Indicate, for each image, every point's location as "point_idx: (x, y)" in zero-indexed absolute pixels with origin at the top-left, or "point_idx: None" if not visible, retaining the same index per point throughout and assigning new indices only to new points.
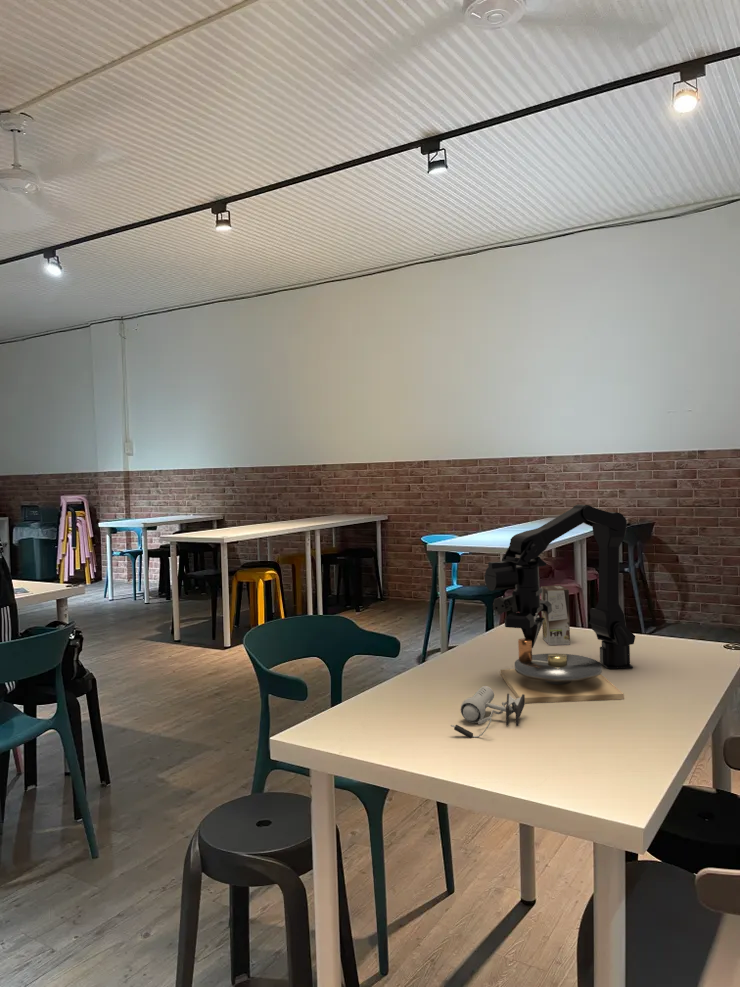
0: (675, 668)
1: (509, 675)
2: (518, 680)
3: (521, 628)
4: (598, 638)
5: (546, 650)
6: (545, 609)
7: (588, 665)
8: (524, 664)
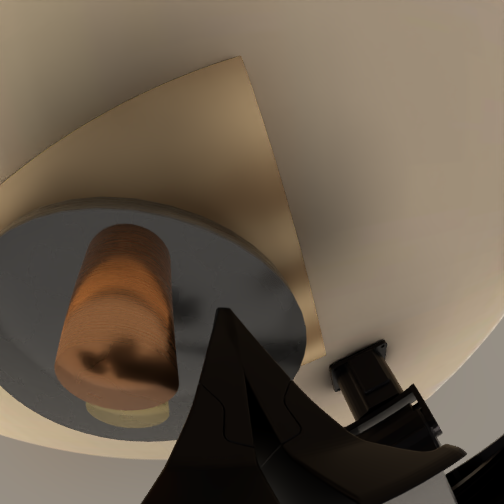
0: (330, 416)
1: (129, 129)
2: (63, 197)
3: (166, 464)
4: (410, 388)
5: (497, 208)
6: (473, 467)
7: (157, 428)
8: (42, 276)
